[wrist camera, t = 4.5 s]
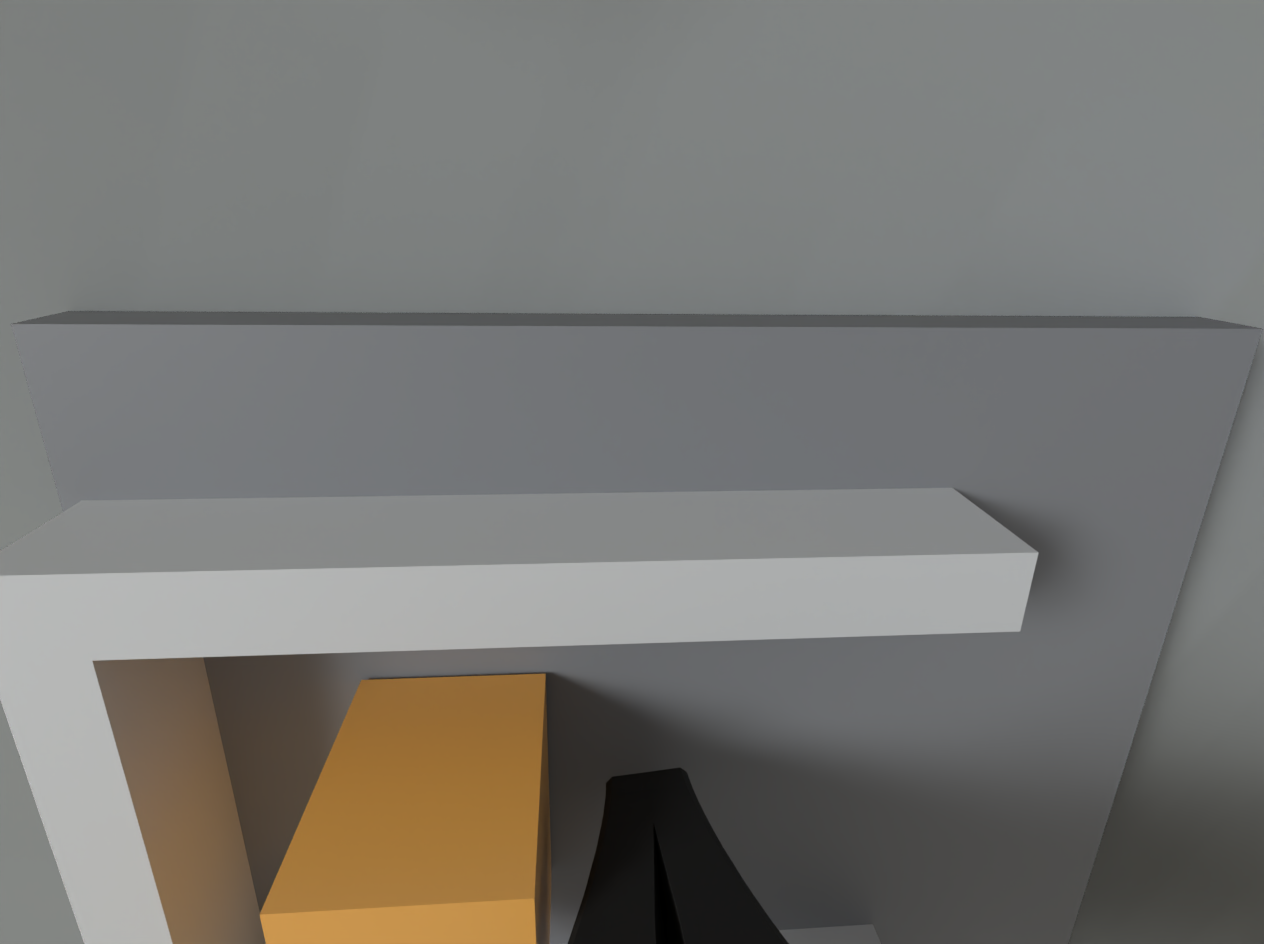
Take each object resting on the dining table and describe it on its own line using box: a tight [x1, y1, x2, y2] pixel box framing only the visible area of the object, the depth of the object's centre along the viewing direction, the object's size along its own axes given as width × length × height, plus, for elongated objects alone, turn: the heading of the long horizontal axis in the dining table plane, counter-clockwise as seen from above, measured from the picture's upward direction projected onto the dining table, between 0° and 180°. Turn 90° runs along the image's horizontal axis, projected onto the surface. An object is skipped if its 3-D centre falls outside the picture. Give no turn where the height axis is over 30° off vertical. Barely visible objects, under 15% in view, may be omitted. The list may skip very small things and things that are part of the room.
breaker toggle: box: [260, 674, 551, 944], centre depth 11 cm, size 3×4×4 cm, turn 179°
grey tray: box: [0, 311, 1263, 944], centre depth 13 cm, size 18×16×4 cm
